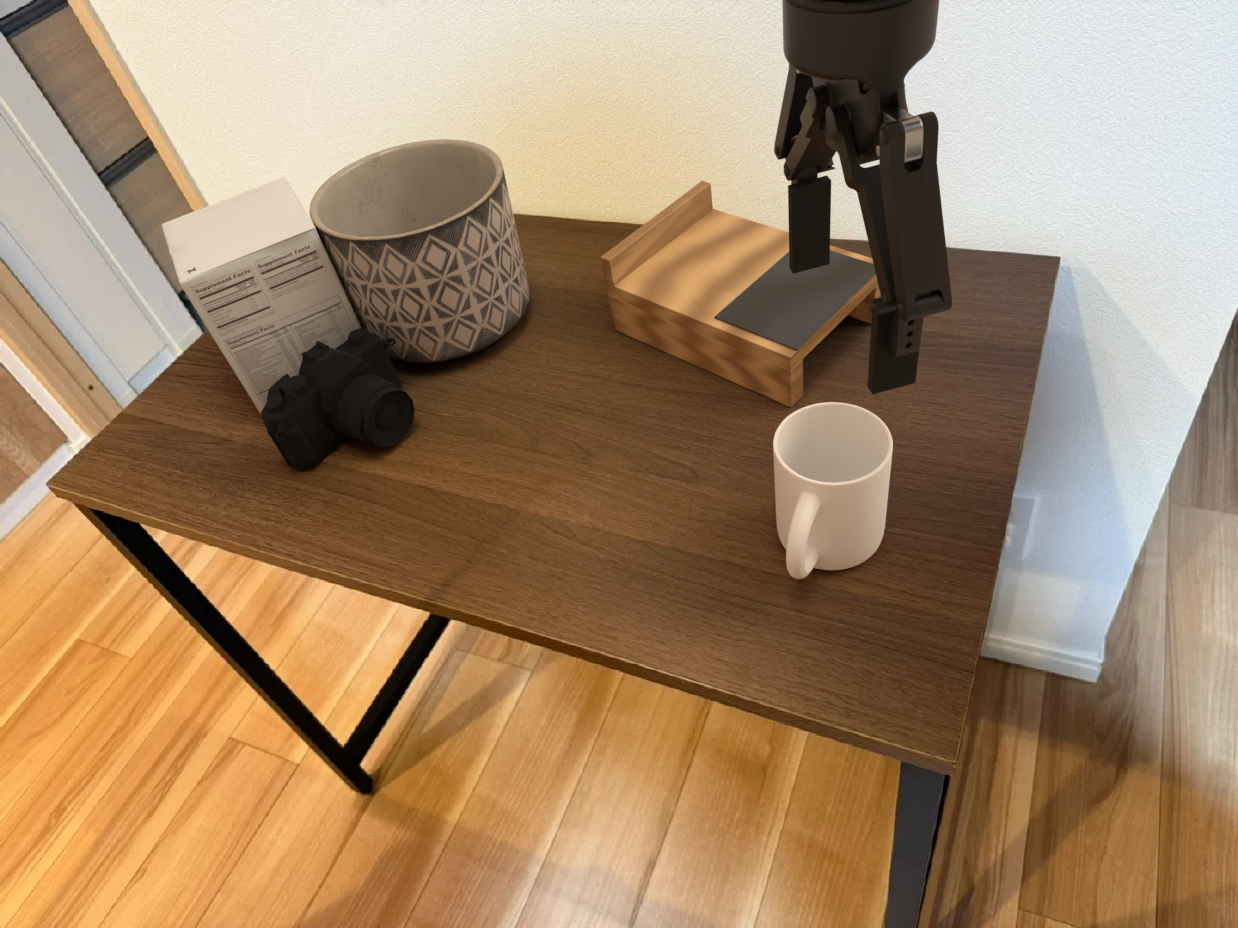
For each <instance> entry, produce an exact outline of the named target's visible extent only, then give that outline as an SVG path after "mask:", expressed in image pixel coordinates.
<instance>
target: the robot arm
mask: <svg viewBox="0 0 1238 928" xmlns="http://www.w3.org/2000/svg"><path fill="white" fill-rule="evenodd" d="M781 3H782V7H781V8H782V47H783V55H784V58H785V59H786V62H787V63H788V70H787V71H788V72H787V76H786V81H785V87H784V92H783V97H782V103H781V108H780V113H779V120H778V124H777V128H776V134H775V139H774V147H773V152H774V155H775V157H776V159H777V160H778V161H779V160H785V161H784V164H783V176H784V177H785V179H786V180H787V181H788V182H790V184H788V185H787V199H788V200H787V203H788V205H787V207H788V214H787V215H788V232H789V267H790V270H791V271H792V273H793V274H794V273H798V272H802V271H806V270H809V269H813V268H817V267H821V266H825V265H829V264H830V245H831V219H832V218H831V217H832V216H831V213H832V180H831V178H830V177H829V176H828V175H827V174H826V175H824V176H819V175H818V174H821V173H825V172H829V171H832V170H833V171H834V170H835V169H836V166H834V165H835V163H834V160H833V158H834V156H835V154H836V153H837V154H838V157H839V161H840V166H841V170H842V174H843V179H844V183H845V185H846V186H847V188H849V189H851V190H854V191H855V192H856V194H857V199H858V203H859V207H860V212H861V216H862V221H863V224H864V229H865V232H866V238H867V243H868V247H869V250H870V254H871V258H872V259H873V264H874V268H875V272H876V277H877V281H878V285H879V290H880V294H881V297H879V298H876V299H873V305H872V306H869V307H870V310H871V312H872V323H871V324H870V325H871V326H870V339H869V340H870V341H869V354H868V370H867V371H868V372H867V389H868V390H869V392H870V393H871V394H872V395H876V394H880V393H884V392H887V391H891V390H895V389H899V388H902V387H906V386H909V385H914V384H916V382H917V372H918V363H919V357H920V356H919V355H920V348H921V341H922V333H923V323H924V318H925V317H929V316H932V315H937V314H941V313H943V312H947V311H950V310H951V309H952V306H953V297H952V288H951V280H950V270H949V262H948V261H949V260H948V251H947V241H946V234H945V225H944V215H943V207H942V196H941V188H940V179H939V178H940V177H939V171H938V169H939V168H938V147H939V131H940V129H939V127H940V126H939V120H938V116H937V114H936V113H935V111H933V110H932V111H928V112H923V113H919V114H916V115H913V114H911V113H910V112H909V107H908V103H907V97H906V83H905V78H906V76H907V75H908V74H909V72H910V71H911V70H912V68H914V66H916V64H918V63H919V62H920V61H922V60H923V59H925V57H926V56H927V55H928V54H929V53H930V52H931V50H932V48H933V47H934V45H935V42H936V37H937V28H938V18H939V9H940V8H939V7H940V0H781ZM875 161H879V162H878V164H875V165H871V166H867V167H863V166H861V165H865V164H869V163H872V162H873V163H874V162H875Z"/></svg>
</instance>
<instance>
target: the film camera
mask: <svg viewBox="0 0 1238 928" xmlns="http://www.w3.org/2000/svg"><path fill="white" fill-rule="evenodd" d="M391 342H393V343H392V344H391V345H389V343H391ZM395 343H396V341H395V339H394V338H389V339H387V340H381V338H380V337H379V335H377V334H374V333H371V332H367V331H365V330H364V329H362V327H361V328H360V329H355V330H353V331H351V332H350V334H349V336H348V340H347V341H345V342H344V343H343V344H341V345H339V346H338V347H337V348H336V349H332V348H329V346H328V345H326V344H324V343H322V342H319V341H317V342H316V344H315V345H314V346H313V347H312V348H311V349H309V350H308V351H307V352H305V351H304V352H303V353H301V355H302V358H303V359H302V363H301V366H300V370H299V375H296V376H292V377H290V376H289V375H288V374H286V375H284V376H283V377H282V378H280V379H279V380H278V381H277V382H276V383H274V384H273V385H272V386H271V388H270V389H269V392H268V395H267V401H266V405H265V406H264V408H263V409H262V411H261V414H260V417H261V419H262V422H263V425H264V427H265V428H266V432H267V434H268V436H269V437H270V438H271V440H272V442H273V444H274V445H275V447H276V449H277V450H278V452H279V453H280V454H281V456H282V458H283V459H284V461H285V463H286V464H287V466H288V467H289V468H291V467H292V468H293V469H294V470H296V471H300V472H301V471H308V470H310V469H312V468H314V467H316V466H317V465H318V464H319V463H320V462H321V461H323V460H324V459H325V458H326V457H327V456H328V455H330V454H331V453H332V452H333V451H334V450H335V449H336V448H338V446H339V445H340V444H342V443H343V442H344V441H345V440H347V439H348V438H349V439H356V440H360V441H362V442H364V443H365V444H367V445H370V446H374V447H376V446H377V447H380V448H388V447H392V446H396V445H397V444H398V443H401V441H402V440H404V438H405V437H407V435H408V434H409V433H410V431H411V428H412V426H413V423H414V421H415V420H414V419H415V414H416V413H415V411H416V410H415V406H414V400H413V399H412V397H410V395H409V394H408V393H407V392H406V391H405V390H404V389H403V387H402V382H401V380H400V378H399V375H398V373H397V371H396V369H395V367H394V364H393V362H392V360H391V357H389V355H388V353H387V351H386V348H387V347H389V346H393V345H394V344H395Z"/></svg>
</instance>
